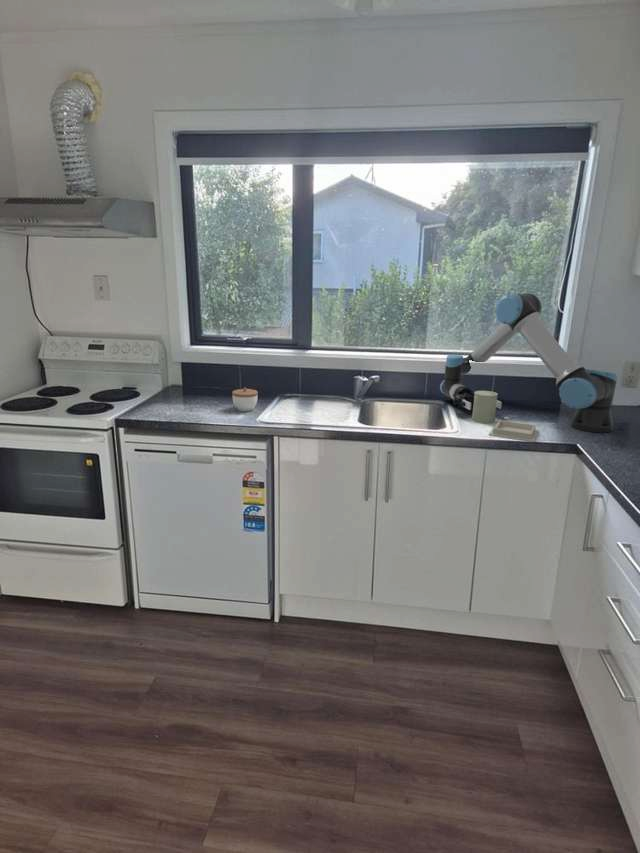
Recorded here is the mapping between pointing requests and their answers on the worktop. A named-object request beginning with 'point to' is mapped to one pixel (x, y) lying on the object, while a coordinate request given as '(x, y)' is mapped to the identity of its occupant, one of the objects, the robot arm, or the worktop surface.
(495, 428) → the square tray
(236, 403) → the lidded jar
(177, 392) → the worktop surface
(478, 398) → the can
